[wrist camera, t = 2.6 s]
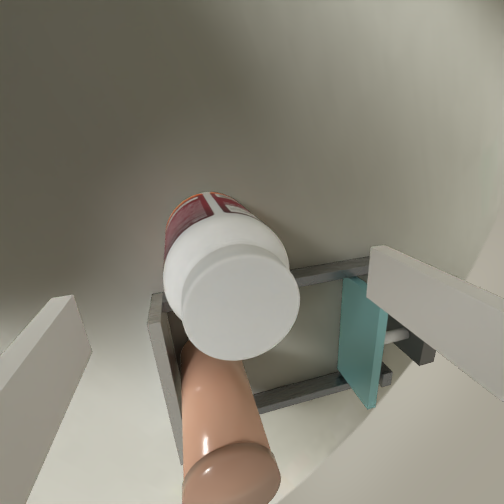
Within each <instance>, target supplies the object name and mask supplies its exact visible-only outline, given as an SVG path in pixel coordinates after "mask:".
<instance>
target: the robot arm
mask: <svg viewBox="0 0 504 504" xmlns="http://www.w3.org/2000/svg"><path fill="white" fill-rule="evenodd" d="M366 297H367V298H368V299H370V300H371V301H372V302H374V303H375V304H376V305H377V306H379V307H380V308H381V309H383V310H384V311H385V312H387V313H388V314H389V315H390V316H392V317H393V318H394V319H396V320H397V321H398V322H399V323H401V324H402V325H403V326H405V327H406V328H407V329H409V330H410V331H411V332H412V333H414V334H415V335H416V336H418V337H419V338H420V339H422V340H423V341H424V342H425V343H427V344H428V345H429V346H431V347H432V348H433V349H435V350H436V351H437V352H438V353H440V354H441V355H442V356H444V357H445V358H446V359H448V360H449V361H450V362H451V363H453V364H454V365H455V366H457V367H458V368H459V369H461V370H462V371H463V372H464V373H466V374H467V375H468V376H470V377H471V378H472V379H474V380H475V381H476V382H477V383H479V384H480V385H481V386H483V387H484V388H485V389H486V390H488V391H489V392H490V393H492V394H493V395H494V396H495V397H497V398H498V399H499V400H501V401H502V402H504V298H502V297H500V296H498V295H495V294H493V293H491V292H489V291H486V290H484V289H482V288H480V287H477V286H475V285H473V284H471V283H468V282H466V281H464V280H462V279H460V278H457V277H455V276H453V275H451V274H448V273H446V272H444V271H442V270H440V269H437V268H435V267H433V266H431V265H428V264H426V263H424V262H422V261H419V260H417V259H415V258H413V257H411V256H408V255H406V254H404V253H402V252H399V251H397V250H395V249H393V248H390V247H388V246H386V245H380V246H374V247H371V249H370V260H369V271H368V282H367V294H366ZM91 354H92V349H91V346H90V343H89V340H88V337H87V334H86V331H85V328H84V325H83V322H82V319H81V316H80V313H79V310H78V307H77V304H76V301H75V298H74V295H67V296H61V297H55V298H51V299H50V300H49V301H48V302H47V304H46V305H45V306H44V307H43V308H42V309H41V310H40V312H39V313H38V314H37V315H36V316H35V317H34V318H33V319H32V321H31V322H30V323H29V324H28V325H27V326H26V327H25V328H24V330H23V331H22V332H21V333H20V334H19V335H18V336H17V338H16V339H15V340H14V341H13V342H12V343H11V344H10V345H9V347H8V348H7V349H6V350H5V351H4V352H3V353H2V355H1V356H0V504H26V502H27V500H28V497H29V495H30V493H31V490H32V488H33V486H34V484H35V481H36V479H37V477H38V474H39V472H40V470H41V468H42V465H43V463H44V461H45V459H46V456H47V454H48V452H49V449H50V447H51V445H52V443H53V440H54V438H55V436H56V434H57V431H58V429H59V427H60V424H61V422H62V420H63V418H64V415H65V413H66V411H67V408H68V406H69V404H70V402H71V399H72V397H73V395H74V393H75V390H76V388H77V386H78V383H79V381H80V379H81V377H82V374H83V372H84V370H85V367H86V365H87V363H88V361H89V358H90V356H91Z"/></svg>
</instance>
